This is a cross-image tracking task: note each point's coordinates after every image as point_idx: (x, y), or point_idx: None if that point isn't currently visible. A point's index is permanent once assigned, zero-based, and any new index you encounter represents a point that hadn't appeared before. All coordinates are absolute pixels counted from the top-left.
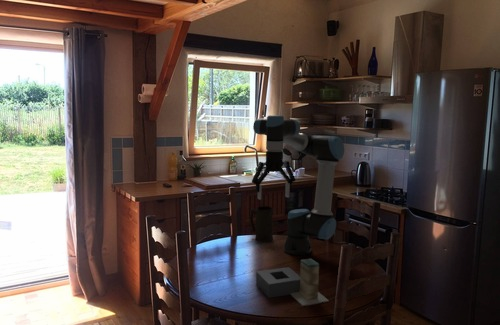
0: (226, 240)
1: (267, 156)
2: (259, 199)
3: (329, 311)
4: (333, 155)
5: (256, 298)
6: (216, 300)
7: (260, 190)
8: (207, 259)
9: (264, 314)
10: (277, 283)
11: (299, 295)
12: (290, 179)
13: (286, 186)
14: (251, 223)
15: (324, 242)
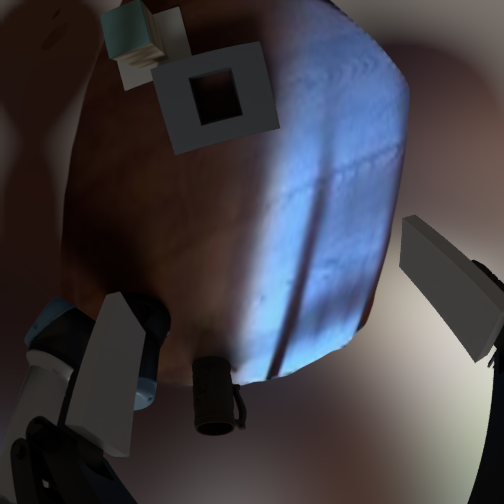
0: (290, 362)
1: None
2: (415, 221)
3: None
4: None
5: (285, 50)
6: (372, 64)
7: (468, 266)
8: (353, 275)
9: None
10: (233, 46)
11: (172, 49)
12: (50, 471)
13: (117, 407)
14: (240, 400)
15: None
